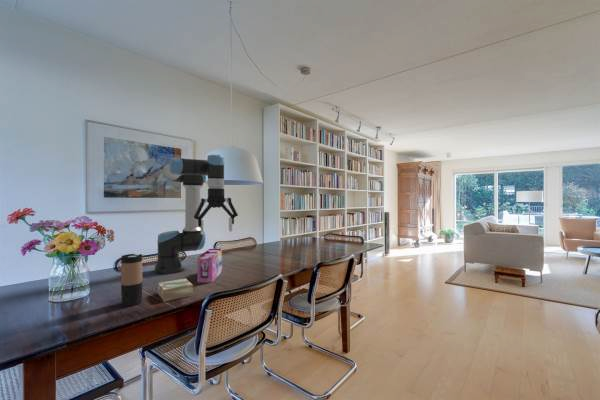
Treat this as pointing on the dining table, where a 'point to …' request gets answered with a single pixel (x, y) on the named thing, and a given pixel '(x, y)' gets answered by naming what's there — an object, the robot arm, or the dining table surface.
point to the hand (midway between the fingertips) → (216, 232)
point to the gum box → (209, 265)
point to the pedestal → (175, 289)
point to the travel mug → (131, 279)
